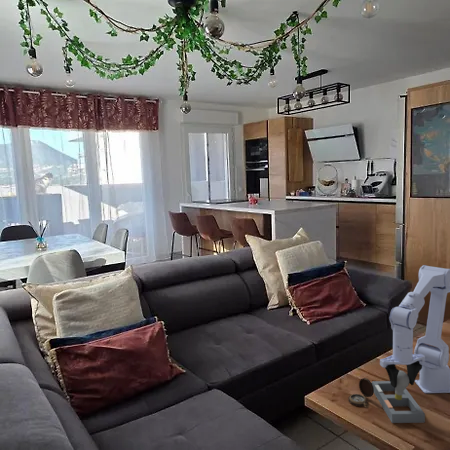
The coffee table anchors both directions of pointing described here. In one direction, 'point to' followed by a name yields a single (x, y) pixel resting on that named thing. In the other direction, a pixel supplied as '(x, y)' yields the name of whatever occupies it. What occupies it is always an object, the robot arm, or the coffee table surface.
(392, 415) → the socket block
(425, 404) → the coffee table surface
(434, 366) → the robot arm
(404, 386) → the light bulb
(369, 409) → the coffee table surface
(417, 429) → the coffee table surface
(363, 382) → the compass
